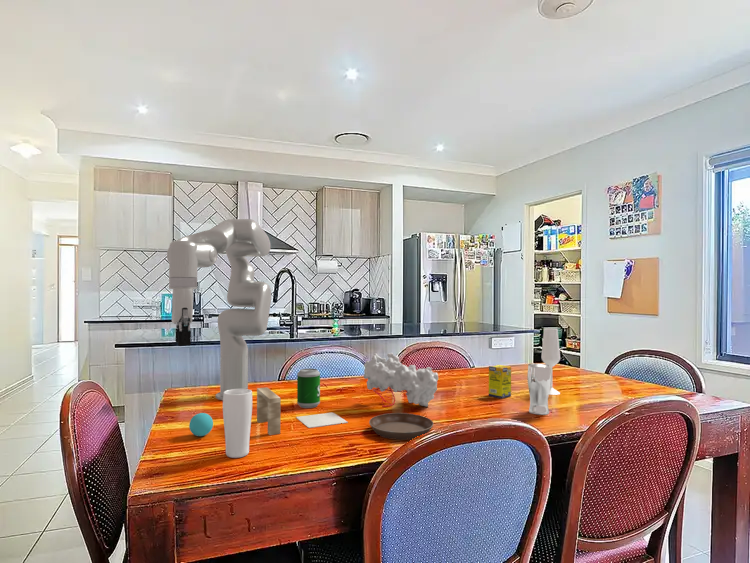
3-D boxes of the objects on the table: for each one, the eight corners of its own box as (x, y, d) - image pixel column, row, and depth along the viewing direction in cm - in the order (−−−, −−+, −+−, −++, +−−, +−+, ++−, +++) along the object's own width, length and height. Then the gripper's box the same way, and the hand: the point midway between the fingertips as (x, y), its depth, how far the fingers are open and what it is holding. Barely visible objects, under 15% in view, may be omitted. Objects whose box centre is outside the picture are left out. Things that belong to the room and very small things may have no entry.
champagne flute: (563, 394, 178) (563, 329, 178) (544, 394, 178) (544, 329, 178) (556, 390, 185) (556, 328, 185) (538, 390, 185) (538, 327, 185)
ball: (188, 434, 130) (188, 411, 130) (211, 431, 133) (211, 409, 133) (190, 440, 125) (190, 417, 125) (214, 437, 128) (214, 414, 128)
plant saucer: (444, 439, 127) (444, 427, 127) (379, 445, 122) (379, 433, 122) (419, 421, 144) (419, 411, 144) (361, 426, 139) (361, 415, 139)
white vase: (550, 410, 155) (550, 364, 155) (550, 416, 149) (550, 367, 149) (527, 408, 158) (527, 362, 158) (527, 414, 151) (527, 366, 151)
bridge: (269, 435, 130) (269, 399, 130) (256, 421, 143) (257, 388, 143) (280, 433, 131) (280, 397, 131) (267, 419, 144) (267, 387, 145)
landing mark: (296, 417, 147) (296, 416, 147) (332, 413, 152) (332, 412, 152) (308, 428, 136) (308, 427, 136) (347, 422, 141) (347, 422, 141)
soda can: (315, 409, 157) (315, 372, 157) (293, 408, 158) (293, 371, 158) (322, 403, 164) (322, 368, 164) (301, 402, 166) (301, 367, 166)
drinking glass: (226, 450, 118) (226, 388, 118) (254, 449, 118) (254, 388, 118) (219, 460, 111) (219, 395, 111) (249, 459, 112) (249, 394, 112)
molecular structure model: (394, 419, 172) (342, 385, 162) (417, 373, 178) (368, 337, 168) (428, 431, 155) (372, 394, 145) (452, 380, 161) (400, 341, 151)
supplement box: (502, 398, 171) (502, 368, 171) (488, 396, 176) (488, 365, 176) (511, 396, 175) (511, 366, 175) (497, 393, 180) (497, 364, 180)
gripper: (167, 284, 145) (166, 341, 144) (171, 283, 129) (170, 347, 129) (193, 284, 148) (193, 340, 148) (200, 283, 132) (200, 346, 132)
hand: (182, 343), depth 138 cm, fingers open, 9 cm apart
